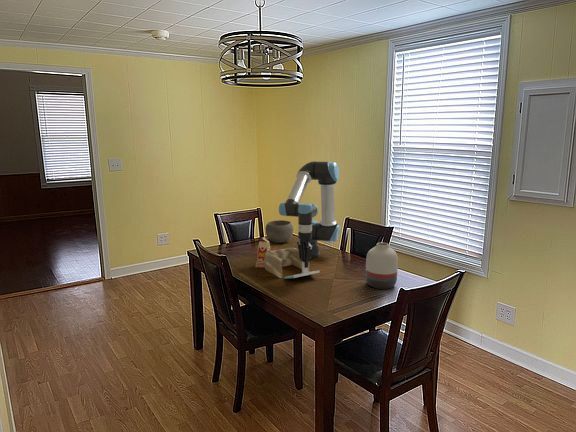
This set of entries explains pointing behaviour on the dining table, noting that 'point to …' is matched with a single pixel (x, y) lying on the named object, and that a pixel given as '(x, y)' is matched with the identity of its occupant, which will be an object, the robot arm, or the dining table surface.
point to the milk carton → (262, 252)
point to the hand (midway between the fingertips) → (304, 272)
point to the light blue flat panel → (301, 274)
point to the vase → (381, 266)
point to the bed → (282, 260)
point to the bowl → (279, 231)
